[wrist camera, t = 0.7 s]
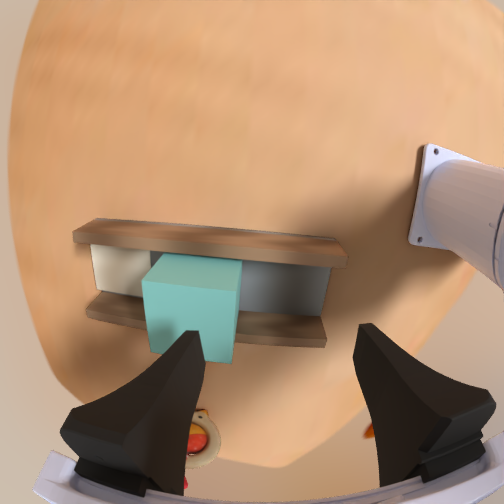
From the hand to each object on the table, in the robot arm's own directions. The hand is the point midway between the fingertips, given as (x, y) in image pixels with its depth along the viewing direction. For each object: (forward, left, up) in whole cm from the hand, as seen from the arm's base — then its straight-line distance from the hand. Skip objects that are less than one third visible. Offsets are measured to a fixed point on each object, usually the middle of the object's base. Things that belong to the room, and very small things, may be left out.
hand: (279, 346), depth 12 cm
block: (+5, +1, -9) cm, 10 cm away
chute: (+5, +1, -9) cm, 11 cm away
